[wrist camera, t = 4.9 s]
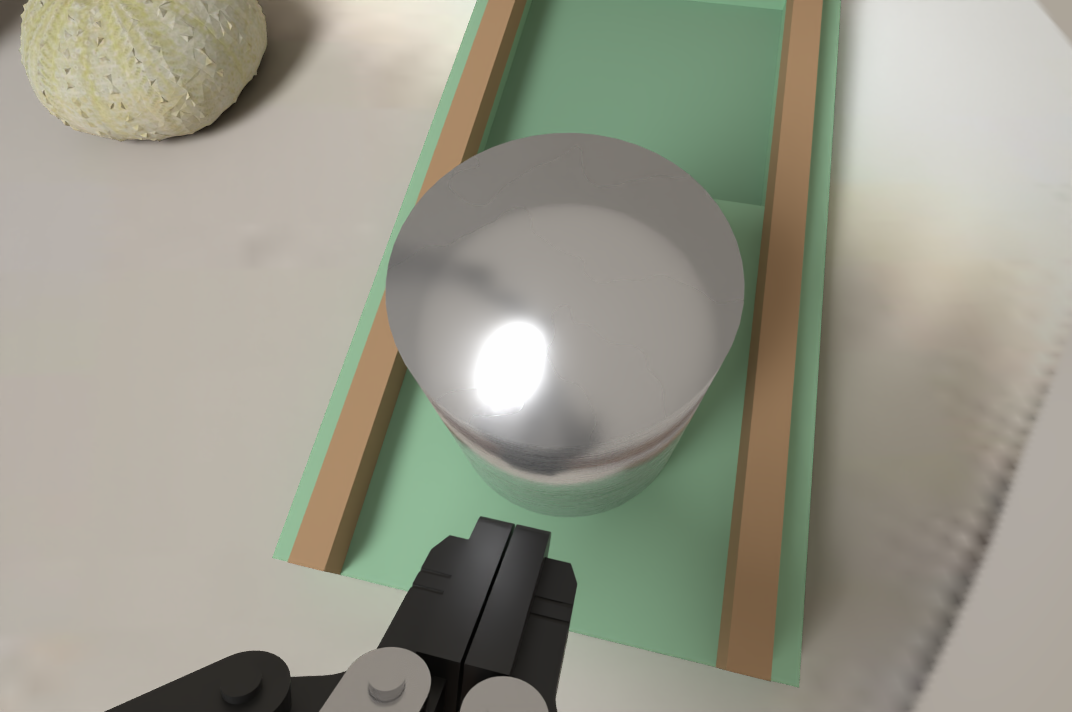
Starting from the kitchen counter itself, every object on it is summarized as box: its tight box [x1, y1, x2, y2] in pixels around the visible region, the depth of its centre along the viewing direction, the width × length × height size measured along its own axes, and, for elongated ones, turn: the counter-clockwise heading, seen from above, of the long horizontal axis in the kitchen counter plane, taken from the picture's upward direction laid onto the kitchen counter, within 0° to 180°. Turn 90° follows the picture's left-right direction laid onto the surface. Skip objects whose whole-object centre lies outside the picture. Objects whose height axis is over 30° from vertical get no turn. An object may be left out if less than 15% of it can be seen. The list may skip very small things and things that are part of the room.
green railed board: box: [272, 0, 841, 688], centre depth 21 cm, size 14×26×4 cm, turn 167°
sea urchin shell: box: [19, 0, 267, 142], centre depth 26 cm, size 9×8×8 cm
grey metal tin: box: [386, 133, 745, 517], centre depth 15 cm, size 7×7×8 cm
